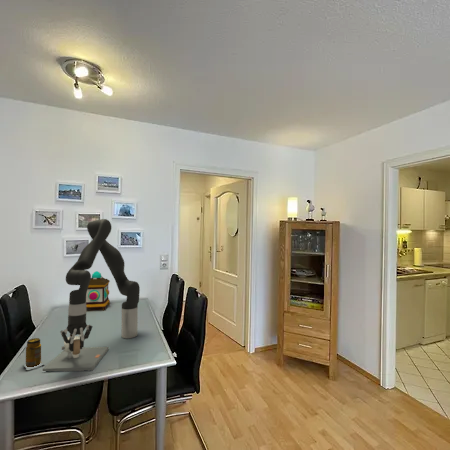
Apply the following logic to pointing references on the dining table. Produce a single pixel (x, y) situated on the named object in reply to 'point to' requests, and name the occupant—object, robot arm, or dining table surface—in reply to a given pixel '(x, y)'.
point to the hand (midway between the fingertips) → (76, 349)
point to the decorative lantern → (97, 292)
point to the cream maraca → (75, 347)
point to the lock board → (77, 360)
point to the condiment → (33, 352)
